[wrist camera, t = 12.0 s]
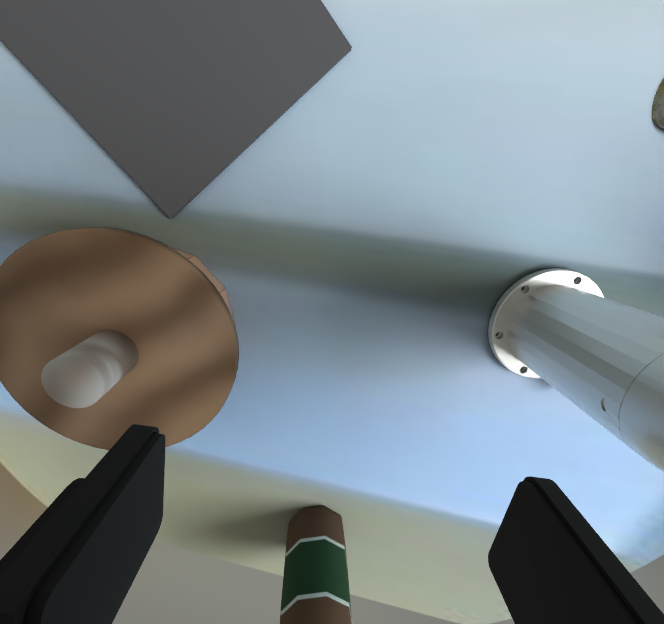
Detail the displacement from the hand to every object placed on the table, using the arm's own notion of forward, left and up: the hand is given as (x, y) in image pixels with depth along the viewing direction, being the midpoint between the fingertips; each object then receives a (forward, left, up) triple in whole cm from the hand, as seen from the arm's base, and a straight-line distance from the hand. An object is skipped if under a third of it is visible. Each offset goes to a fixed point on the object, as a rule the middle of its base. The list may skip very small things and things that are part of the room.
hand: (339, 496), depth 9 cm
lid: (+7, +16, -21) cm, 27 cm away
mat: (+25, -3, -28) cm, 37 cm away
